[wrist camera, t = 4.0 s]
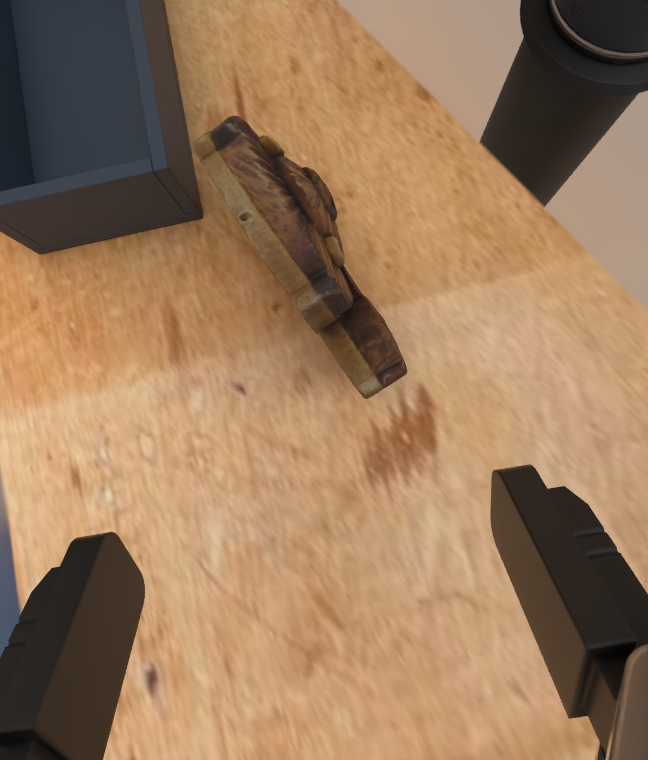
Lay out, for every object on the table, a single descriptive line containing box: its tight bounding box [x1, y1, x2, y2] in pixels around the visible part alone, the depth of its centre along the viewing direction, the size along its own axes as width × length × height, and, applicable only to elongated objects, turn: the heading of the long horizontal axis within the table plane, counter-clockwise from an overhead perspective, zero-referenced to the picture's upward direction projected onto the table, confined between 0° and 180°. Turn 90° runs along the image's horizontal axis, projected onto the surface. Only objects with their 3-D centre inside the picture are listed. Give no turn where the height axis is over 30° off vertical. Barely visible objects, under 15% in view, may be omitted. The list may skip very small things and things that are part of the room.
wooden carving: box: [193, 116, 407, 399], centre depth 25 cm, size 16×5×10 cm, turn 37°
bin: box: [0, 0, 203, 254], centre depth 29 cm, size 11×22×6 cm, turn 11°
